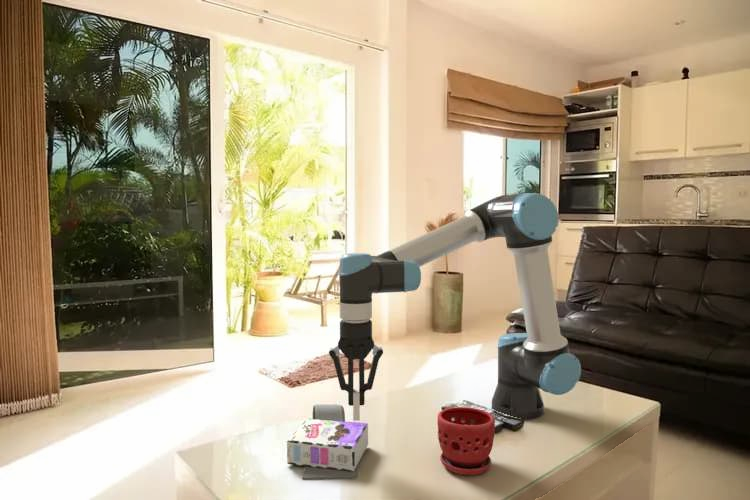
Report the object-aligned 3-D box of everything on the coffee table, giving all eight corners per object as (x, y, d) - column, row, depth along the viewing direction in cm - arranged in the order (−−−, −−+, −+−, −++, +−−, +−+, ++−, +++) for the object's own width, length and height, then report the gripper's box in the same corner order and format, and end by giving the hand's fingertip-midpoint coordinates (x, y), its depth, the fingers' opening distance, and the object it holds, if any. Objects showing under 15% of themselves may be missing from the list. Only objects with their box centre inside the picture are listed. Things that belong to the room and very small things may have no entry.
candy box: (354, 447, 113) (285, 440, 116) (355, 472, 113) (286, 465, 116) (368, 422, 126) (306, 417, 130) (368, 445, 127) (306, 439, 130)
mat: (357, 445, 127) (357, 444, 127) (356, 478, 111) (356, 476, 111) (309, 446, 127) (309, 445, 127) (302, 479, 111) (302, 477, 111)
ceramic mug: (346, 435, 133) (346, 407, 133) (315, 439, 131) (315, 410, 131) (338, 421, 143) (338, 394, 143) (310, 424, 141) (310, 397, 141)
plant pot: (505, 474, 113) (505, 422, 112) (451, 483, 109) (452, 429, 108) (477, 449, 125) (477, 402, 124) (428, 456, 121) (428, 408, 121)
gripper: (383, 316, 121) (383, 411, 122) (328, 316, 121) (329, 412, 122) (384, 322, 114) (384, 424, 115) (326, 323, 113) (327, 425, 115)
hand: (356, 418), depth 119 cm, fingers closed
